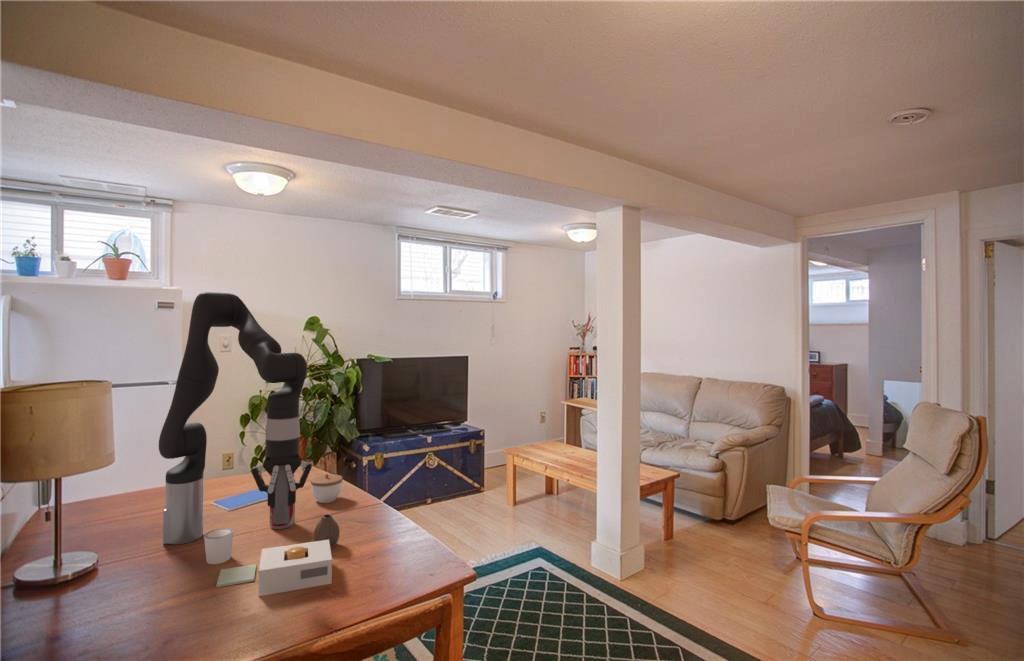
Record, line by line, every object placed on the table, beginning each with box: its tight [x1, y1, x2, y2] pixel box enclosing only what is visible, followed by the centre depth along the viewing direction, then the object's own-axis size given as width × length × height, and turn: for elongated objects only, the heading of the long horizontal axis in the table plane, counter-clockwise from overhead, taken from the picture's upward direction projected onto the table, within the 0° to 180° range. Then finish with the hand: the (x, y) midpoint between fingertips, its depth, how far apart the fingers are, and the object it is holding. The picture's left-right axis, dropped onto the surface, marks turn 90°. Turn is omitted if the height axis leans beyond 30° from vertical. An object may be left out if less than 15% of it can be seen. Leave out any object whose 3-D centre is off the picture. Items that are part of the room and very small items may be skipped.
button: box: [287, 547, 305, 560], centre depth 125 cm, size 4×4×4 cm
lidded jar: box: [310, 473, 344, 504], centre depth 180 cm, size 11×11×9 cm
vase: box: [313, 513, 341, 549], centre depth 143 cm, size 7×7×9 cm
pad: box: [215, 563, 257, 588], centre depth 125 cm, size 8×8×1 cm
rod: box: [273, 465, 290, 524], centre depth 122 cm, size 4×4×14 cm
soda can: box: [269, 503, 296, 530], centre depth 157 cm, size 7×7×13 cm
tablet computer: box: [210, 488, 268, 512], centre depth 179 cm, size 19×13×1 cm, turn 147°
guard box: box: [257, 540, 333, 597], centre depth 125 cm, size 16×12×6 cm
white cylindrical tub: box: [203, 527, 235, 565], centre depth 134 cm, size 7×7×7 cm
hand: (281, 506), depth 122 cm, fingers closed on rod, 3 cm apart
